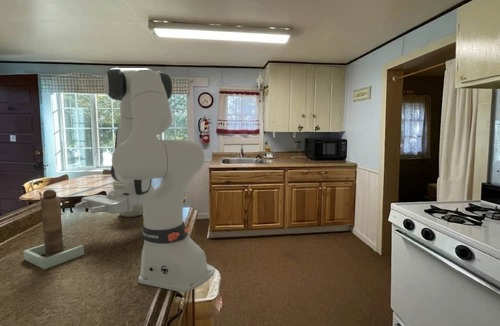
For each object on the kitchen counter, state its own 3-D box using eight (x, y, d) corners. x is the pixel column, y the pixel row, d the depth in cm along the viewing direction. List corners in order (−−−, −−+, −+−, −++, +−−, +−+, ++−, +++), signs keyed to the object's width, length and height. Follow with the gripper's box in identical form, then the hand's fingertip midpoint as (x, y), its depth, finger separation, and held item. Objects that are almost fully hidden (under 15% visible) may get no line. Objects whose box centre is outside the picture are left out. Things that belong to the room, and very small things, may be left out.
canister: (140, 220, 131) (138, 175, 128) (105, 218, 134) (102, 174, 131) (159, 209, 149) (157, 169, 146) (127, 208, 152) (125, 169, 149)
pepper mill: (67, 255, 95) (61, 188, 92) (50, 261, 91) (44, 191, 88) (59, 252, 97) (53, 187, 95) (42, 258, 93) (36, 189, 90)
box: (84, 254, 96) (83, 245, 96) (44, 269, 86) (43, 259, 85) (63, 246, 102) (62, 238, 102) (24, 259, 92) (23, 250, 92)
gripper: (101, 189, 118) (66, 196, 106) (134, 195, 108) (100, 204, 96) (102, 204, 119) (68, 213, 107) (135, 211, 109) (101, 222, 97)
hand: (83, 208), depth 102 cm, fingers open, 8 cm apart
